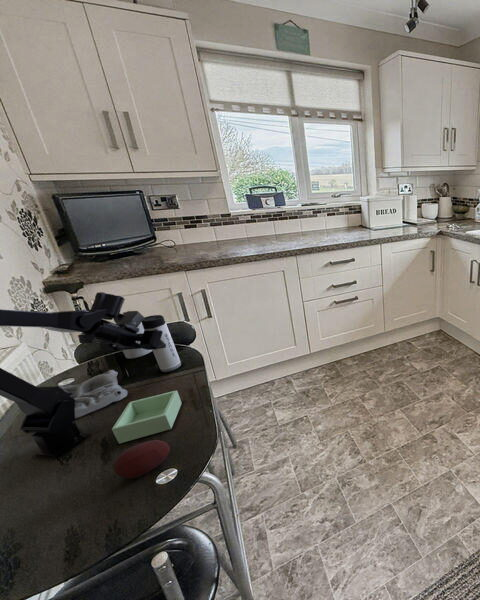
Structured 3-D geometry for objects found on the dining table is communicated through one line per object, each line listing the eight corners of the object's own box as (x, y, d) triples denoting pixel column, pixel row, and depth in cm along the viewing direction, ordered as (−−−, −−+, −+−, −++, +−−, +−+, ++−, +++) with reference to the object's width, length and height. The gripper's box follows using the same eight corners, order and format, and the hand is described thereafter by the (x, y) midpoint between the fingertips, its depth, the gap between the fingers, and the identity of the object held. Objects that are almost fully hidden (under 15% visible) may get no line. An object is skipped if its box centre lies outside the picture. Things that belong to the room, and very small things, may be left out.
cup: (140, 358, 125) (128, 330, 121) (119, 358, 126) (107, 330, 122) (159, 346, 134) (148, 319, 129) (139, 347, 135) (128, 320, 130)
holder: (118, 443, 82) (111, 429, 80) (135, 415, 92) (129, 402, 91) (171, 429, 86) (165, 414, 84) (181, 403, 96) (176, 390, 94)
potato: (121, 470, 74) (110, 449, 72) (173, 447, 79) (164, 427, 77) (118, 493, 68) (106, 471, 66) (174, 466, 74) (165, 445, 71)
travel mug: (158, 368, 117) (137, 317, 109) (179, 360, 120) (161, 311, 113) (161, 374, 112) (139, 322, 105) (182, 366, 116) (163, 315, 109)
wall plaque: (128, 398, 101) (124, 387, 99) (42, 431, 89) (35, 420, 88) (124, 370, 117) (119, 360, 116) (50, 395, 106) (45, 385, 104)
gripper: (146, 305, 97) (185, 323, 112) (92, 308, 100) (137, 324, 114) (133, 342, 93) (175, 355, 107) (77, 343, 96) (125, 356, 110)
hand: (153, 346), depth 110 cm, fingers open, 9 cm apart
